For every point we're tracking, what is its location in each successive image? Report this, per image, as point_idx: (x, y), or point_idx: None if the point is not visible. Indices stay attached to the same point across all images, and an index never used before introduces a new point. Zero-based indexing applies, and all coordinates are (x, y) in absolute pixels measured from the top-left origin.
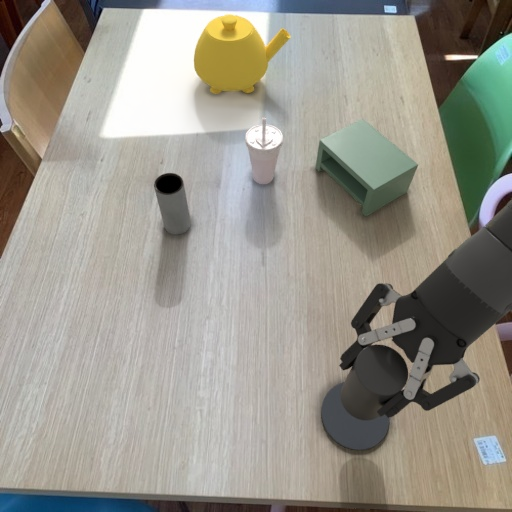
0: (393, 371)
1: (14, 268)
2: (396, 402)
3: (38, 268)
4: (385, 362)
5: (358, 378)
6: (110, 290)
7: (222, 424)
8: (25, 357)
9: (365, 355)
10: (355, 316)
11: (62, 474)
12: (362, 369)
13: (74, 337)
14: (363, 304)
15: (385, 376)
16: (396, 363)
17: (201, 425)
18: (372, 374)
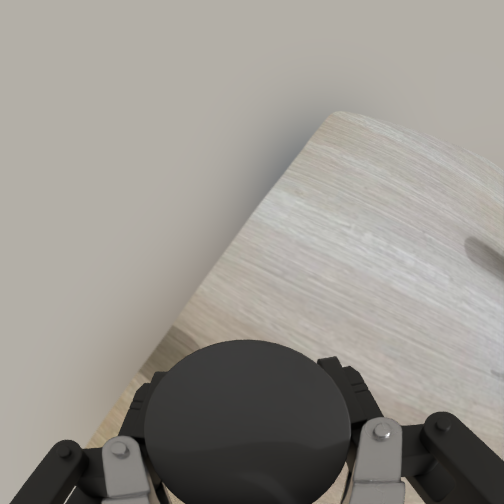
0: (213, 468)
1: (485, 162)
2: (140, 412)
3: (488, 173)
4: (260, 465)
5: (259, 341)
6: (478, 206)
7: (324, 240)
8: (423, 140)
9: (324, 414)
10: (465, 428)
11: (329, 128)
12: (281, 374)
13: (438, 168)
14: (498, 458)
15: (212, 432)
16: (235, 495)
17: (332, 221)
18: (245, 396)
